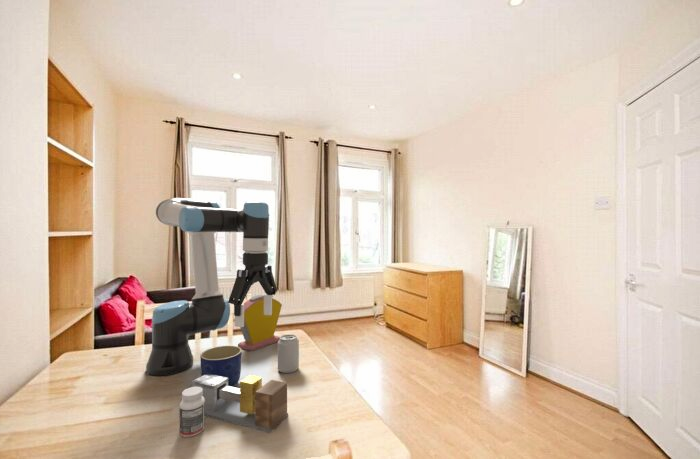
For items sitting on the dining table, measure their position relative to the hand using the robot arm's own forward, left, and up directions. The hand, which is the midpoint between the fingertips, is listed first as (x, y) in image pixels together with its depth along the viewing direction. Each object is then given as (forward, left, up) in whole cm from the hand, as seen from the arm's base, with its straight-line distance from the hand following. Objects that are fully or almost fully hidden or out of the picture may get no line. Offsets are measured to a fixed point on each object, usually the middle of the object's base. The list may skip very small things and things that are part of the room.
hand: (254, 320), depth 98 cm
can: (+1, +18, -23) cm, 29 cm away
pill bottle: (-3, -21, -23) cm, 31 cm away
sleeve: (-7, -11, -22) cm, 26 cm away
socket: (+14, -11, -22) cm, 29 cm away
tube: (+3, -11, -20) cm, 23 cm away
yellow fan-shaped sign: (-25, +37, -23) cm, 50 cm away
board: (+3, -11, -22) cm, 25 cm away
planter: (-13, 0, -23) cm, 26 cm away
